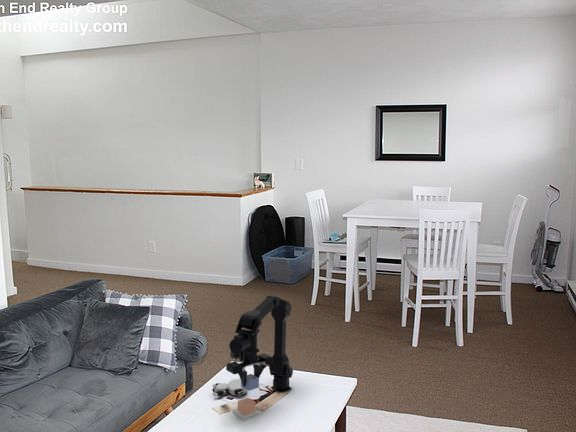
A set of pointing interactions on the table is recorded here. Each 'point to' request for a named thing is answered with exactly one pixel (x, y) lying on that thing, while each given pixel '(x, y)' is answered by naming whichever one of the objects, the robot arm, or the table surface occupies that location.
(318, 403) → the table surface
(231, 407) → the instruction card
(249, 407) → the terracotta brick
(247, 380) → the navy brick
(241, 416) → the grey baseplate
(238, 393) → the robot toy
